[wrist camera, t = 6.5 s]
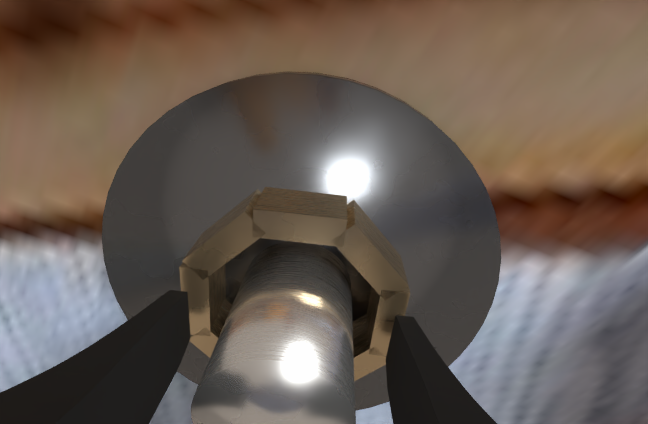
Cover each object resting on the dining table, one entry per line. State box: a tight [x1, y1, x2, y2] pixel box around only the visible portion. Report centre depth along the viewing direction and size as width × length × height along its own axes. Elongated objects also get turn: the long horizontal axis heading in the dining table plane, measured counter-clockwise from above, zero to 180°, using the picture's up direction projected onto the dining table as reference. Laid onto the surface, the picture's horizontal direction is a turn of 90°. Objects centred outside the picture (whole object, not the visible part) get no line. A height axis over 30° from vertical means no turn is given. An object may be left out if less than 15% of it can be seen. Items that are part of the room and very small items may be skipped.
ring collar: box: [102, 72, 501, 411], centre depth 15 cm, size 16×16×3 cm
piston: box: [191, 241, 356, 424], centre depth 13 cm, size 4×4×6 cm
